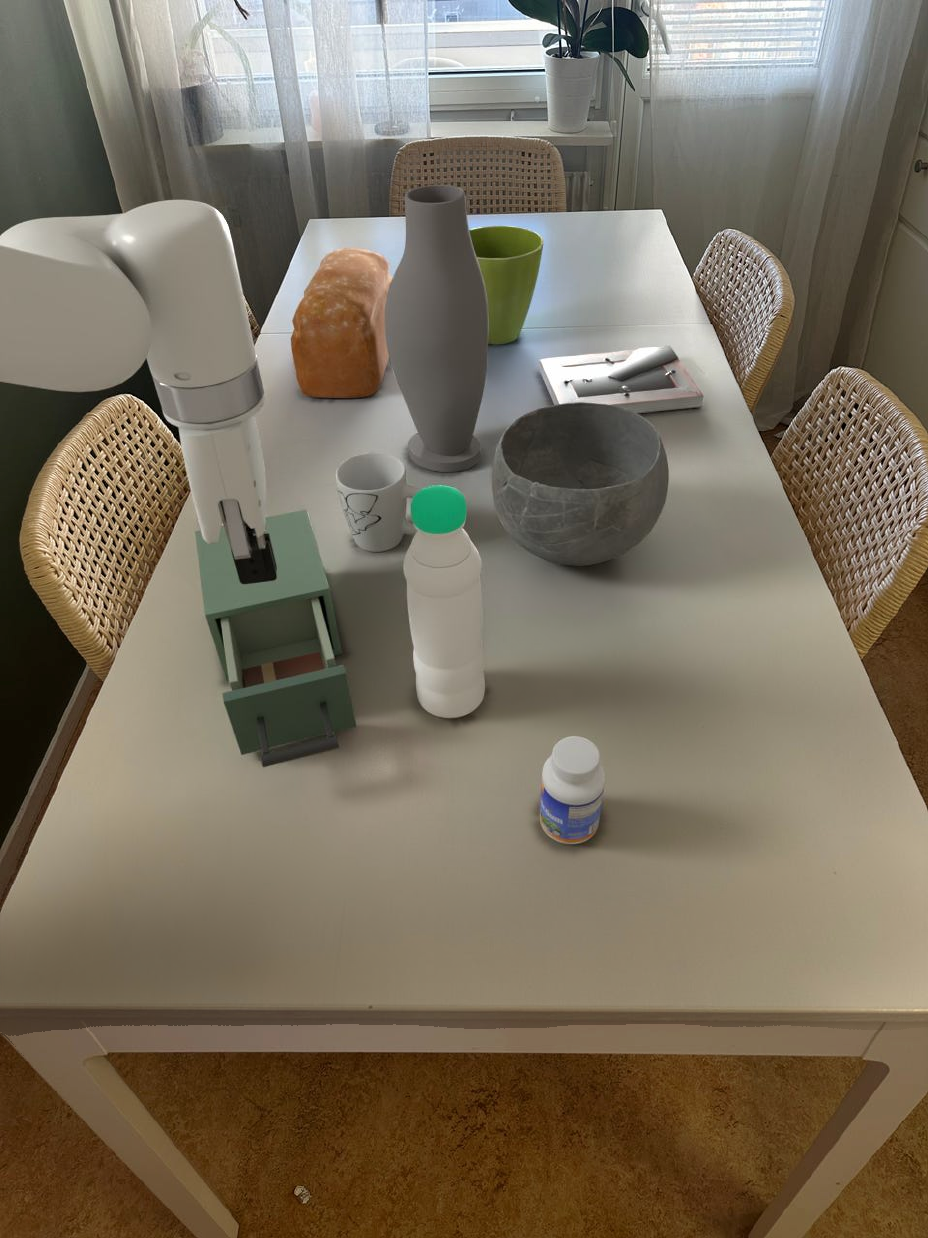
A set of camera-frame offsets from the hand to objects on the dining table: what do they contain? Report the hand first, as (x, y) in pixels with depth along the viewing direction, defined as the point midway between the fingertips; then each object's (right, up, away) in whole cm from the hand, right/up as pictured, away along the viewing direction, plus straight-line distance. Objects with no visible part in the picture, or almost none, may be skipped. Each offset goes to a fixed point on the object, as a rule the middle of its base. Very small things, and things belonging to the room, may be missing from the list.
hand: (259, 576), depth 76 cm
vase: (+15, +20, +48) cm, 54 cm away
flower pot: (+24, +46, +75) cm, 91 cm away
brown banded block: (0, -11, +13) cm, 17 cm away
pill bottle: (+28, -22, +2) cm, 35 cm away
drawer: (+1, -13, +12) cm, 18 cm away
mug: (+9, +6, +34) cm, 35 cm away
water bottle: (+17, -12, +14) cm, 25 cm away
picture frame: (+42, +32, +60) cm, 80 cm away
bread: (-1, +40, +70) cm, 80 cm away
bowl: (+32, +6, +32) cm, 45 cm away
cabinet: (-4, -4, +23) cm, 23 cm away
